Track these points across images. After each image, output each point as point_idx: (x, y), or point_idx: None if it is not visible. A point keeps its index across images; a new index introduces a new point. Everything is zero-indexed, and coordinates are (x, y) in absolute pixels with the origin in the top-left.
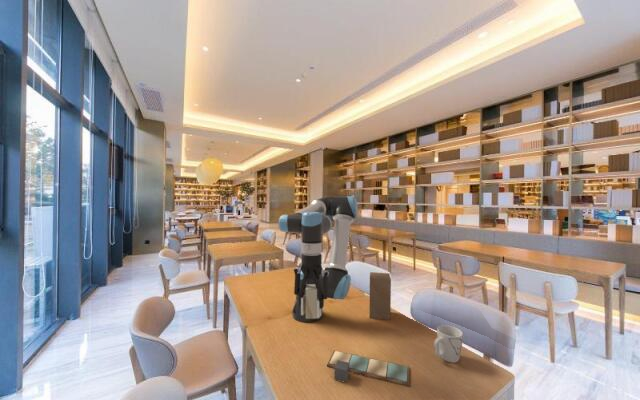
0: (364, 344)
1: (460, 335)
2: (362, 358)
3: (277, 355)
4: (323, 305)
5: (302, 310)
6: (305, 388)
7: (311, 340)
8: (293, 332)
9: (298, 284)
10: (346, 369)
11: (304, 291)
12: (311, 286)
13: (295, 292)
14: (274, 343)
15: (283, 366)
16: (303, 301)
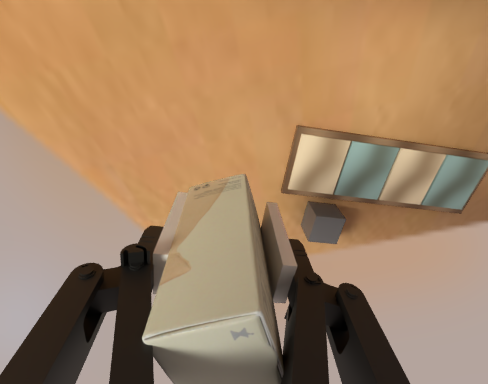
0: (404, 57)
1: None
2: (380, 152)
3: (136, 177)
4: (303, 251)
5: None
6: None
7: (209, 73)
8: (116, 24)
9: (67, 374)
10: (336, 241)
11: (150, 285)
12: (222, 367)
13: (89, 319)
14: (91, 121)
15: None
16: None
